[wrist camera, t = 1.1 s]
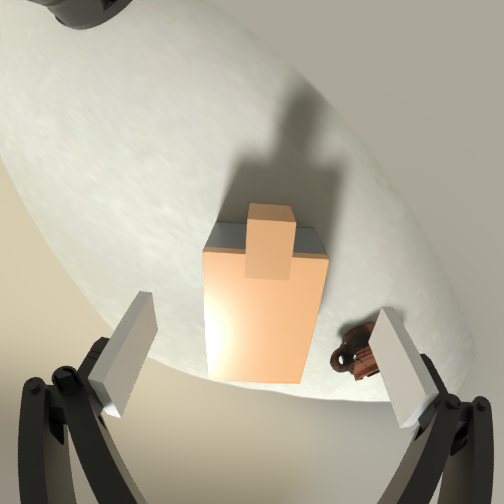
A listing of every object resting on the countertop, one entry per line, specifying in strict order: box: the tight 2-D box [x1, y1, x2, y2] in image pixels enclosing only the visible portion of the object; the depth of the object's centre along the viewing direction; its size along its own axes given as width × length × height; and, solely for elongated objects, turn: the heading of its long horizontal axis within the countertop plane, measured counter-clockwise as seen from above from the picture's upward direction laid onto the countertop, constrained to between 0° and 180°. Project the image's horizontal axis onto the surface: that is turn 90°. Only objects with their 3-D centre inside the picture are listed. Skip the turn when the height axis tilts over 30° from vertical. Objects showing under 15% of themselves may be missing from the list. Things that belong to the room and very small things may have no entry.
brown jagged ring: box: [330, 322, 380, 381], centre depth 43 cm, size 12×10×8 cm
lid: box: [202, 203, 329, 384], centre depth 31 cm, size 25×13×6 cm, turn 177°
